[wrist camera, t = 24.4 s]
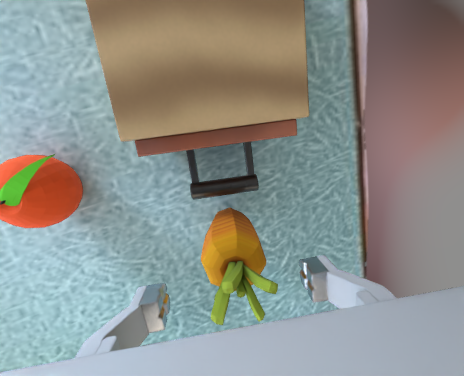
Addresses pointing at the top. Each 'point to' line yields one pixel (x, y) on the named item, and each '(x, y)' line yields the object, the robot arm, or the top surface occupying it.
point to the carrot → (234, 262)
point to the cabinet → (201, 63)
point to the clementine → (38, 191)
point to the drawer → (217, 139)
